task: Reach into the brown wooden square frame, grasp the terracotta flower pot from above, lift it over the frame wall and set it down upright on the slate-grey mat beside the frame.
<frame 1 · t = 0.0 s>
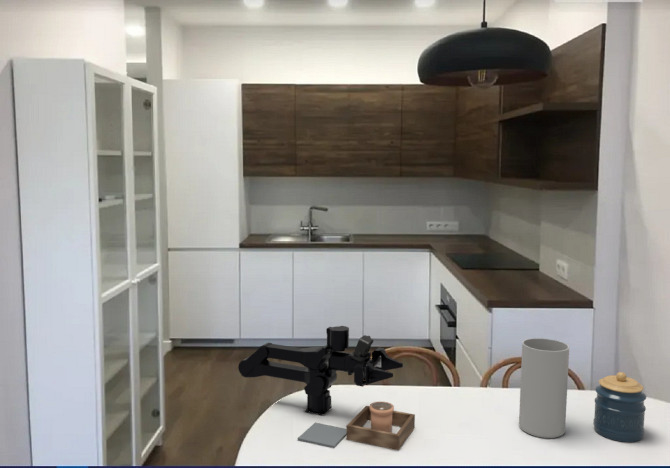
hand: (398, 370, 165), 17 cm above the table, tool horizontal, fingers open, 9 cm apart
canister: (617, 433, 163), on the table
brown wooden square frame: (381, 433, 162), on the table
slate mat: (324, 435, 160), on the table
cylinder vase: (541, 429, 165), on the table
terracotta pot: (381, 419, 161), in the brown wooden square frame
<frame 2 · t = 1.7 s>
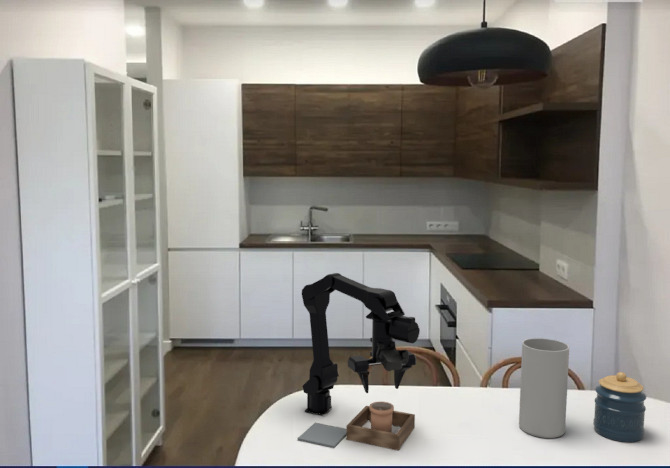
hand: (381, 390, 160), 12 cm above the table, tool pointing down, fingers open, 9 cm apart
nothing on the table moved.
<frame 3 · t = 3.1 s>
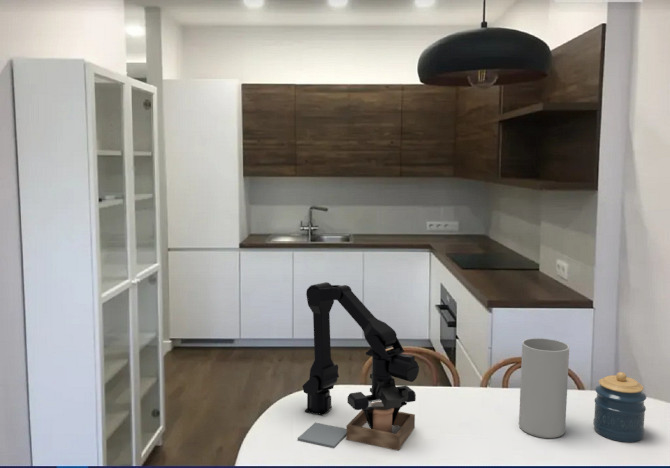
hand: (381, 426, 161), 2 cm above the table, tool pointing down, fingers closed on terracotta pot, 6 cm apart
terracotta pot: (381, 419, 161), in the brown wooden square frame, touching gripper
everything else where it was.
when the fingers open (4 cm above the table, at t = 8.3 s): terracotta pot drops 1 cm, resting on slate mat.
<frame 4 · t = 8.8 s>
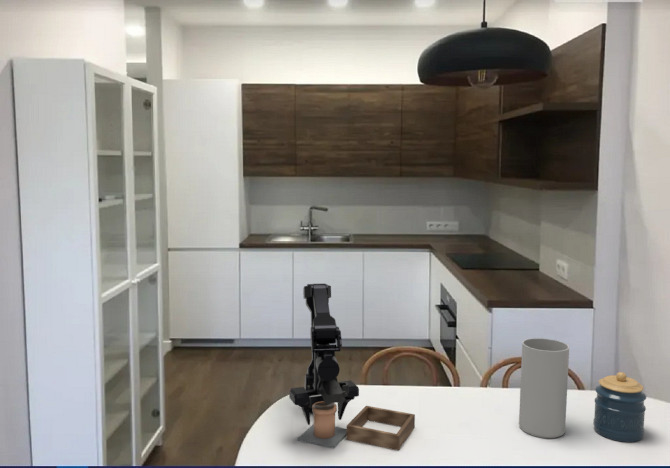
hand: (324, 421, 160), 4 cm above the table, tool pointing down, fingers open, 9 cm apart
terracotta pot: (324, 419, 159), on the slate mat, point 5 cm above the table
everything else where it was.
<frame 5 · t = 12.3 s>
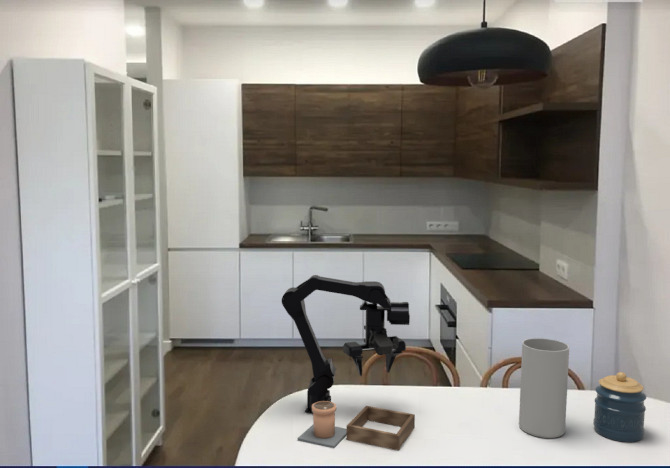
hand: (374, 374, 175), 12 cm above the table, tool pointing down, fingers open, 9 cm apart
nothing on the table moved.
at the end: terracotta pot inside the target area on the slate mat (0.0 cm from its centre), point 4.7 cm above the slate mat's base; terracotta pot tilted 1°; the gripper is holding nothing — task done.
